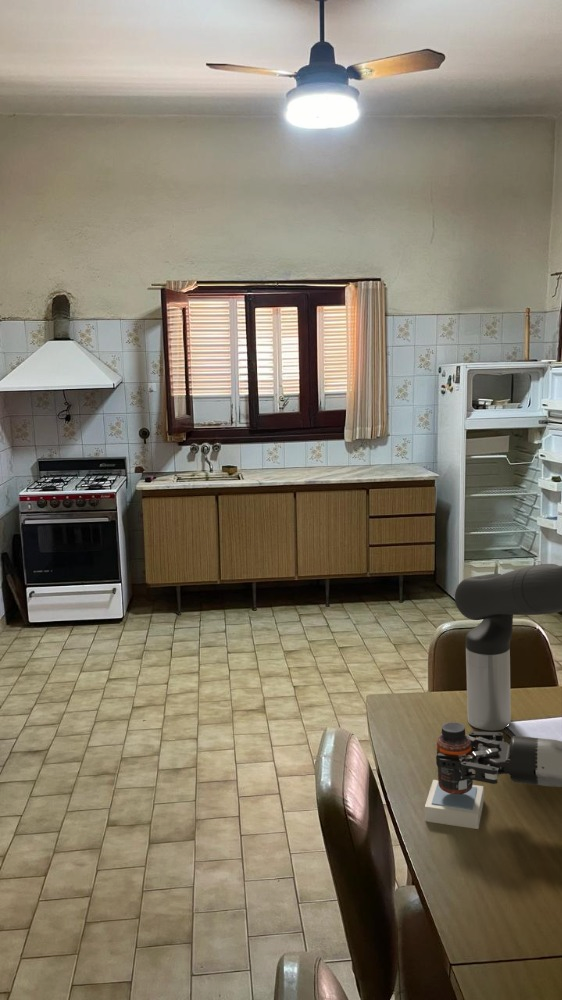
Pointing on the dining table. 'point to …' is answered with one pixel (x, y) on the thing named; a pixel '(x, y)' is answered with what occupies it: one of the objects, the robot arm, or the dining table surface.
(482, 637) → the robot arm
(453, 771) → the supplement bottle
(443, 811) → the plinth
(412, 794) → the dining table surface
